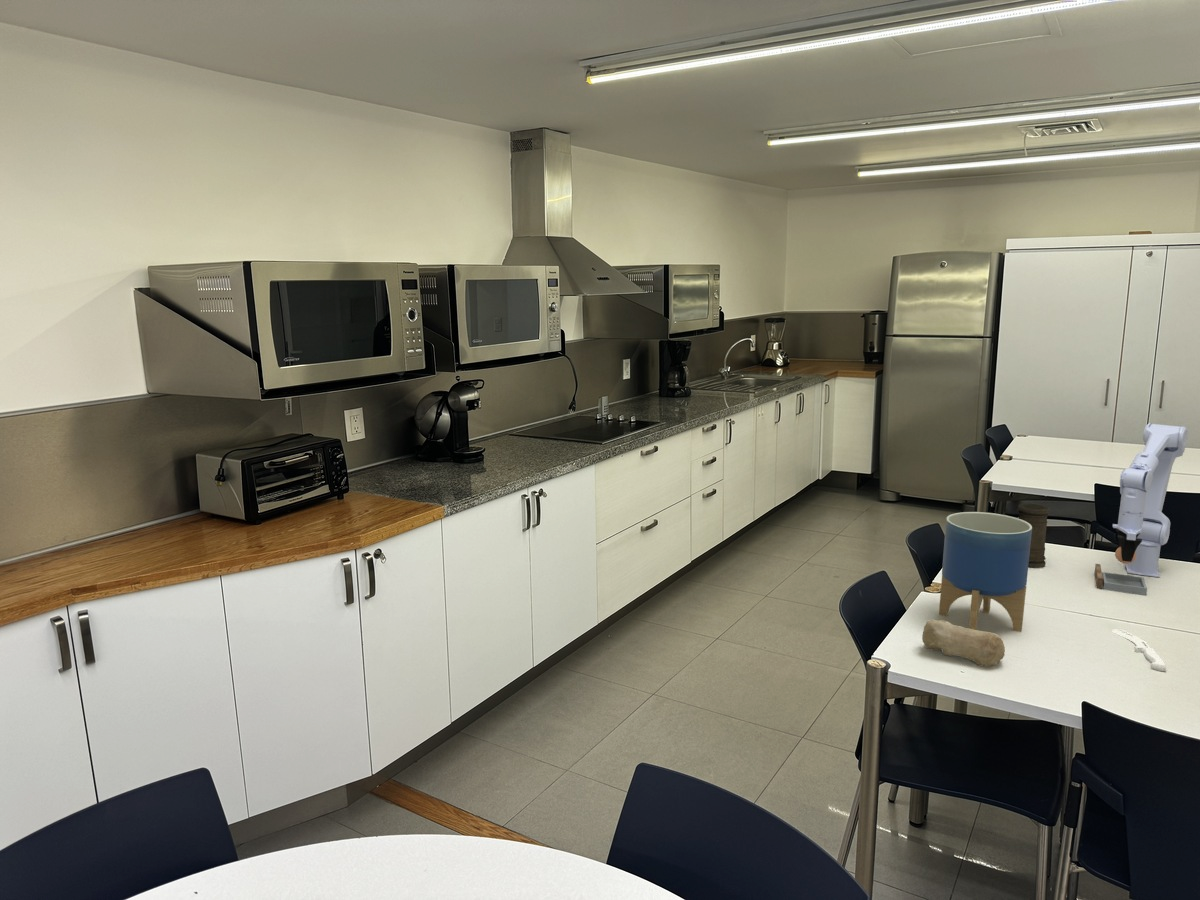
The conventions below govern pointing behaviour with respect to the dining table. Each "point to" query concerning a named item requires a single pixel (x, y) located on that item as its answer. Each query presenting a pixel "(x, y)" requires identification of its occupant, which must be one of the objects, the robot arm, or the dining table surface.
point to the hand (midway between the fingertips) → (1125, 558)
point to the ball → (1119, 557)
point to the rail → (1098, 576)
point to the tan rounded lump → (963, 642)
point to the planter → (986, 563)
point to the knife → (1143, 650)
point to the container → (1035, 531)
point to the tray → (1124, 583)
